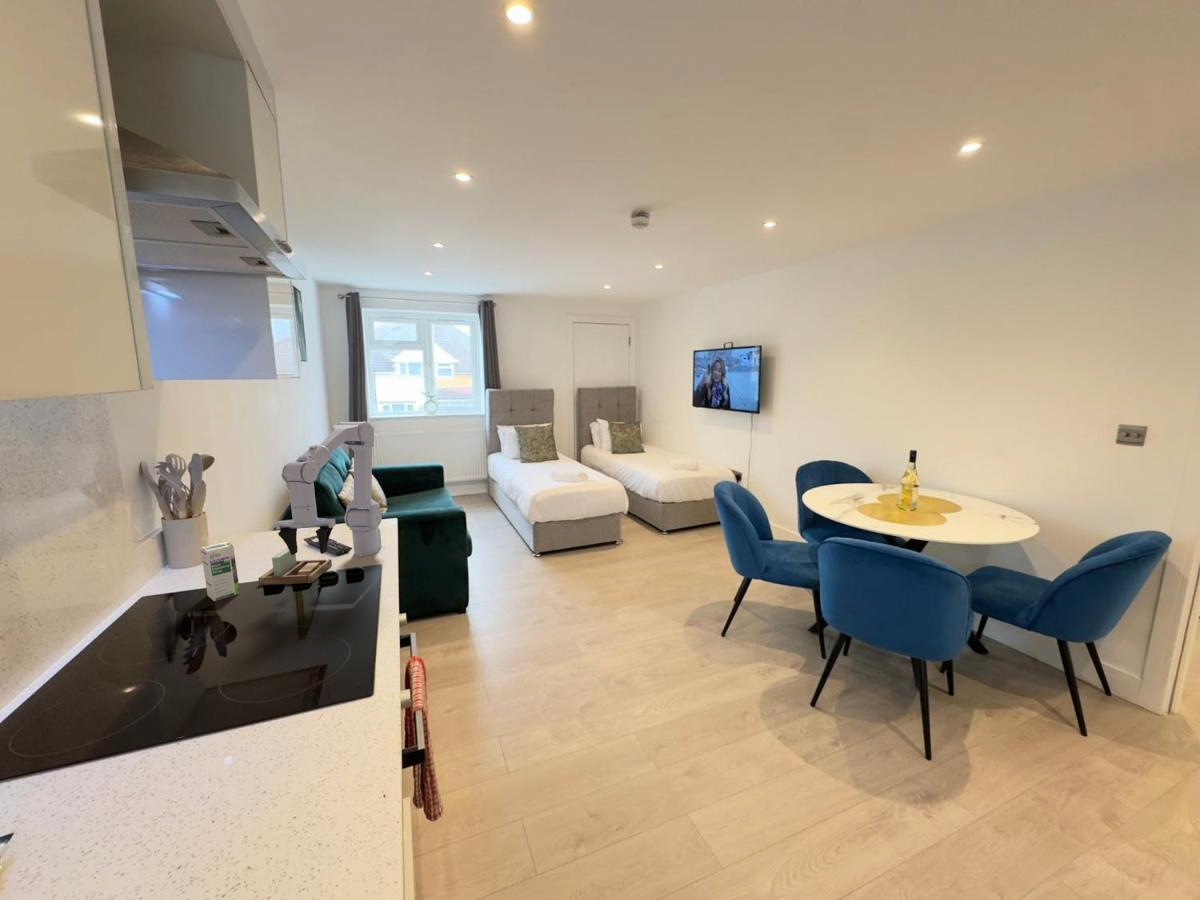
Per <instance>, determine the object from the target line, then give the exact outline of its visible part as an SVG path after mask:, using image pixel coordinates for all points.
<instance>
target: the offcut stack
mask: <svg viewBox="0 0 1200 900" xmlns="http://www.w3.org/2000/svg"><path fill="white" fill-rule="evenodd" d="M320 566H321V565H320V562H317V563H307V564H306V565H305V566H304V567H303V568H302V569H301V570H299V571H298V575H307V577H308V576H309V575H310V574H311V573H313V572H314V571H315V570H316V569H317V568H319V567H320ZM308 579H309V577H308Z"/></svg>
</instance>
